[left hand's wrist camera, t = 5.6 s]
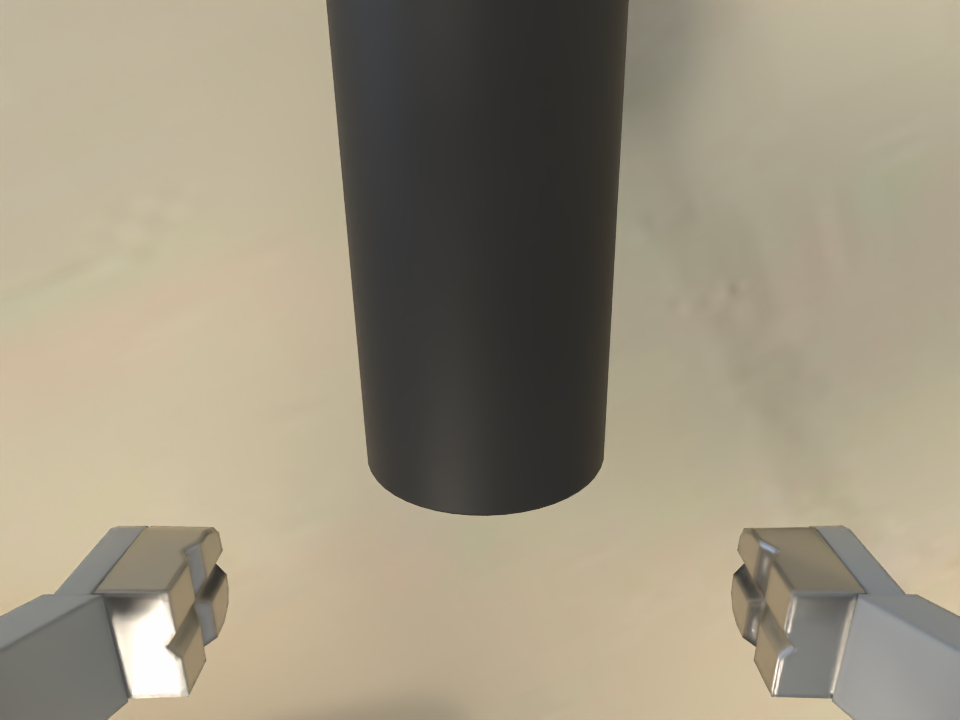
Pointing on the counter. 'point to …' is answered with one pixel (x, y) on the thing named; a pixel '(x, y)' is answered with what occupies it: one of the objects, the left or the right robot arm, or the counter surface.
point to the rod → (481, 240)
